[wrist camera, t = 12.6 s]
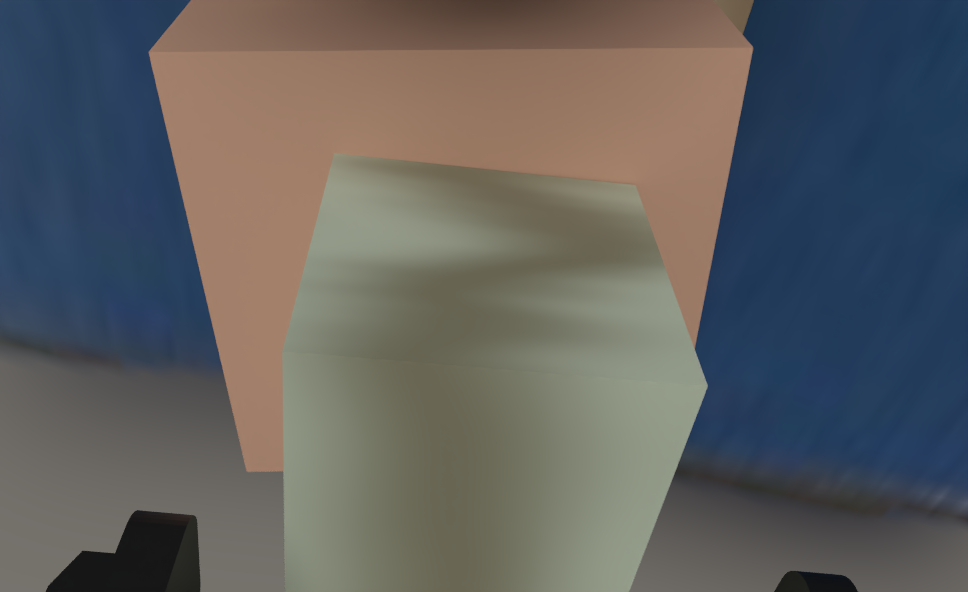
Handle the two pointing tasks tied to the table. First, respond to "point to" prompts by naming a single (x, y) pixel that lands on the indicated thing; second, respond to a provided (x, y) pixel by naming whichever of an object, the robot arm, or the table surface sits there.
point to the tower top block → (430, 133)
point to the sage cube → (479, 384)
